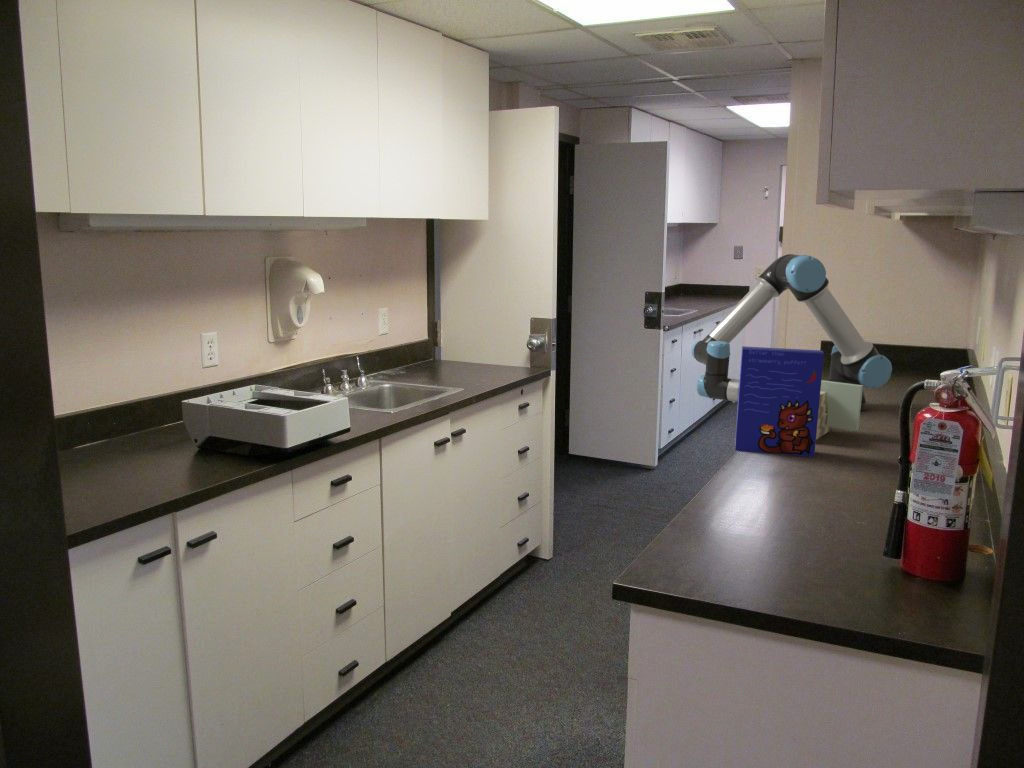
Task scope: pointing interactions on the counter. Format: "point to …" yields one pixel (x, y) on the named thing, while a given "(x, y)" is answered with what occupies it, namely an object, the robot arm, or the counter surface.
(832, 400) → the sage board
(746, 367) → the cereal box
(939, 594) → the counter surface
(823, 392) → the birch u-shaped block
